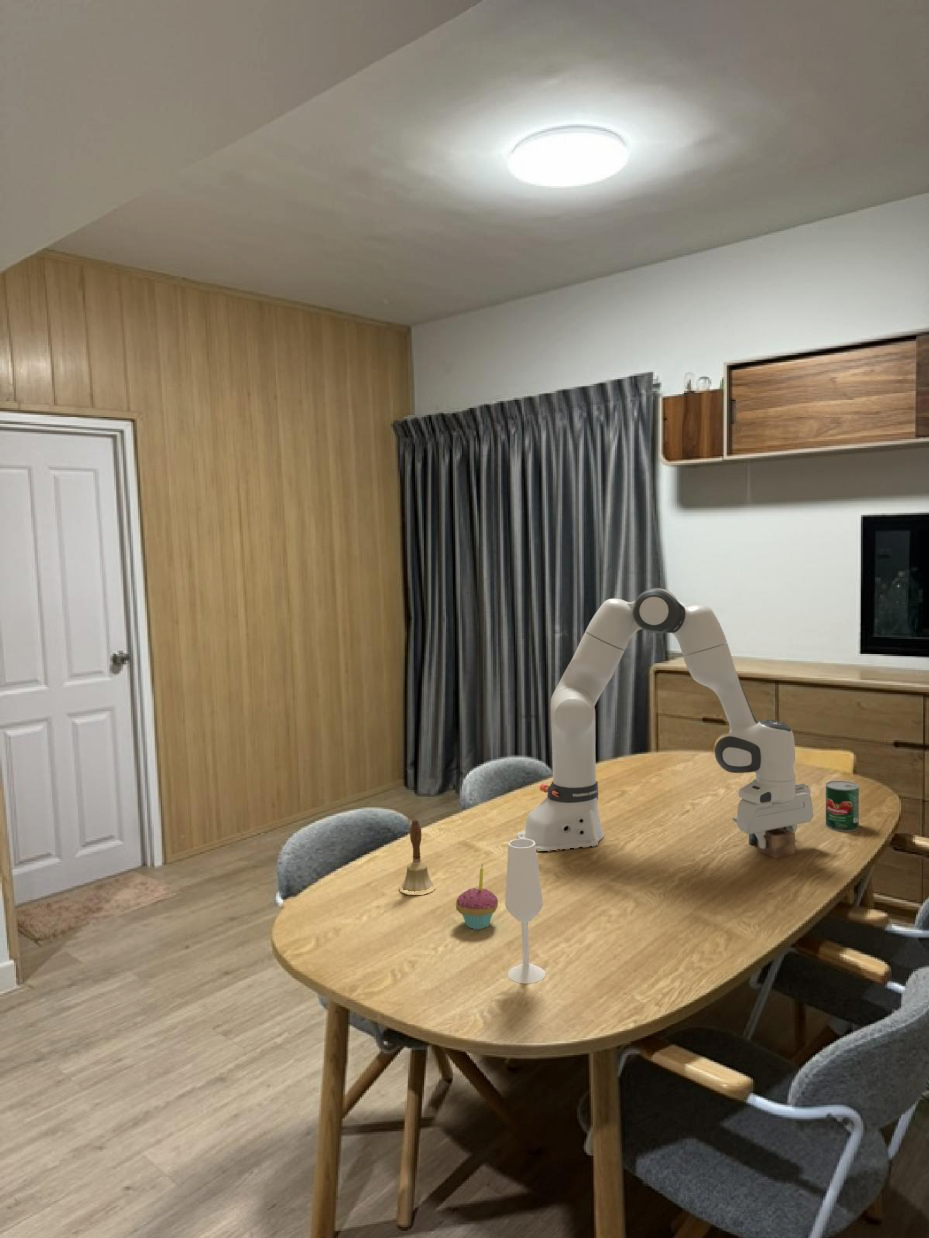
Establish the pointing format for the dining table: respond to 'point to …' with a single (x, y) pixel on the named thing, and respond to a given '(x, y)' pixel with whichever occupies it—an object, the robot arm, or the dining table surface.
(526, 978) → the champagne flute
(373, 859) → the dining table surface
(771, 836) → the brown hollow square block
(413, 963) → the dining table surface
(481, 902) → the cupcake
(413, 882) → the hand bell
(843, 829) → the canned tomato
